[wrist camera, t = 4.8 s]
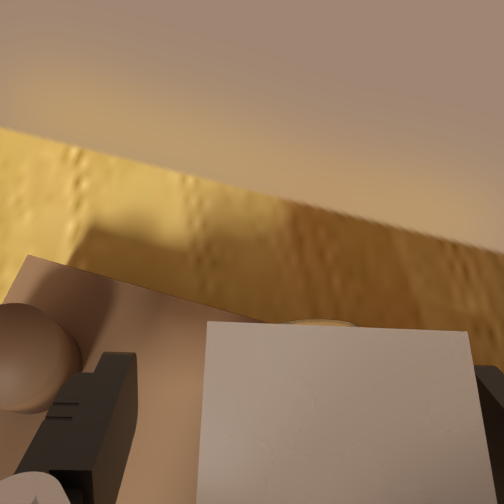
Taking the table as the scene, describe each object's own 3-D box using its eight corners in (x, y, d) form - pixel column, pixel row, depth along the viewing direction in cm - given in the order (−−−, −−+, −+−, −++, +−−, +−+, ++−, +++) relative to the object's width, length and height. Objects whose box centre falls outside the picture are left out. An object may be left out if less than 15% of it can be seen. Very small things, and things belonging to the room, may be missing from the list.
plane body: (535, 421, 18) (710, 402, 12) (533, 638, 15) (762, 768, 9) (55, 283, 19) (-27, 195, 13) (-33, 464, 16) (-196, 470, 10)
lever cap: (344, 379, 15) (464, 308, 8) (351, 494, 14) (503, 537, 7) (211, 374, 15) (208, 298, 8) (204, 492, 14) (193, 534, 6)
